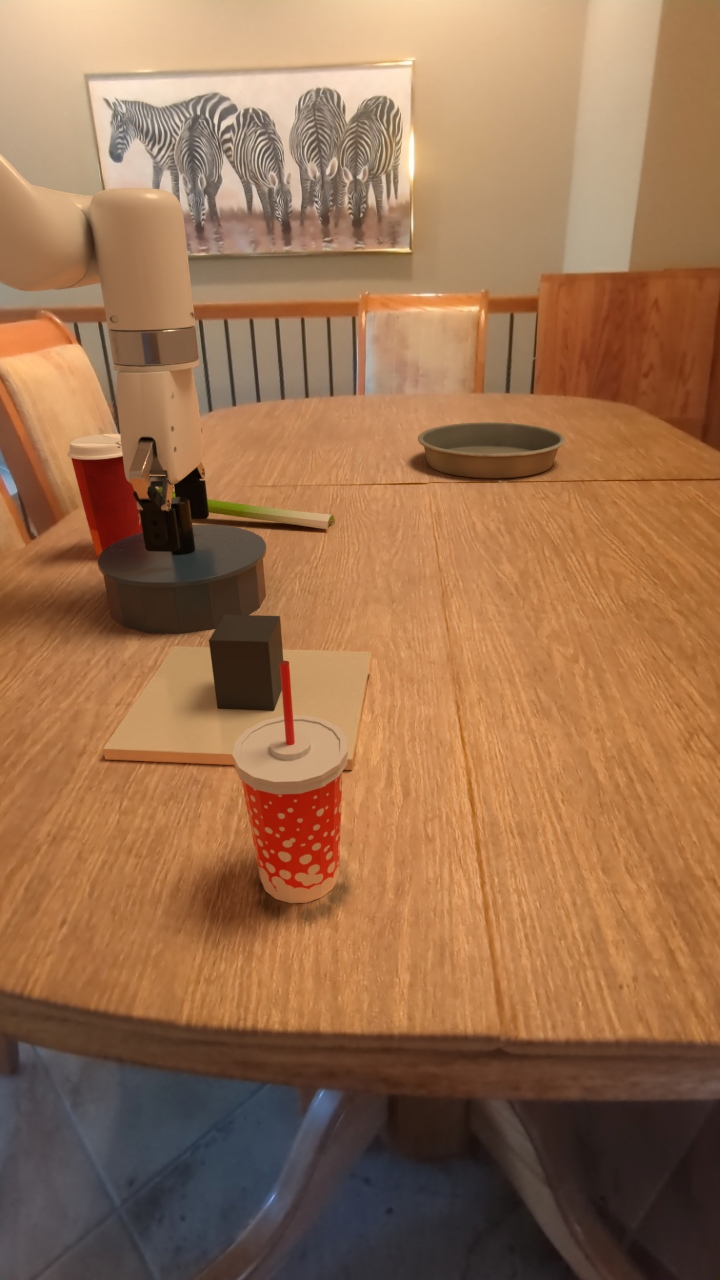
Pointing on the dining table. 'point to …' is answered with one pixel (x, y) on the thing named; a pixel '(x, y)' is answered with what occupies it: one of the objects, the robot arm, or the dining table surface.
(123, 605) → the pot
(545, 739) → the dining table surface
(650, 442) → the dining table surface
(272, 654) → the block
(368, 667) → the board
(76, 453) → the paper cup
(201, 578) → the lid
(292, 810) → the beverage cup
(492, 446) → the cake pan
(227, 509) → the celery stalk
